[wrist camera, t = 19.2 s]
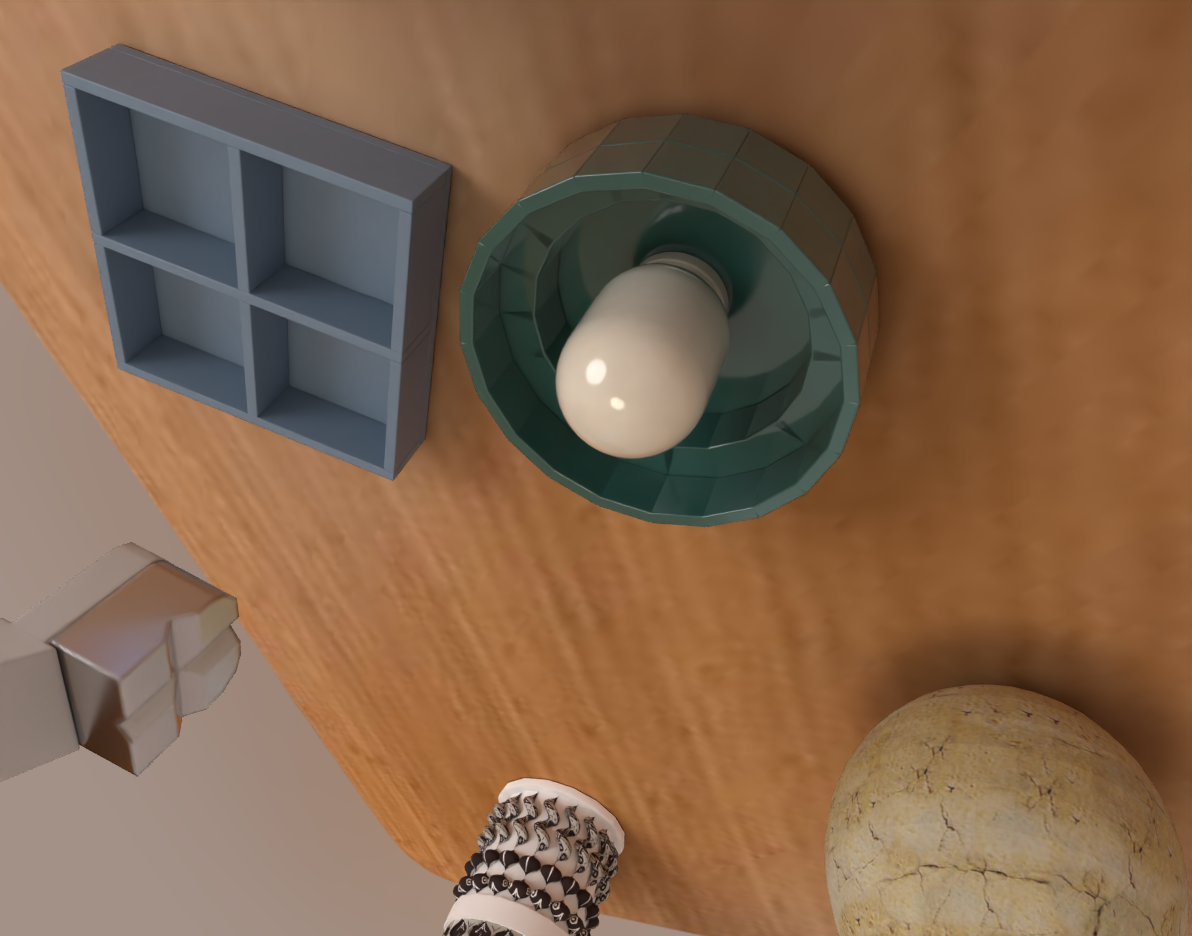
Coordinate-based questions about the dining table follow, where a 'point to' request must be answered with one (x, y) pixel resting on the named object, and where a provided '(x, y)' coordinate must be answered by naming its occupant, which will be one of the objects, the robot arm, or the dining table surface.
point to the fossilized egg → (1000, 826)
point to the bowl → (756, 314)
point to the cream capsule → (645, 357)
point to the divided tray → (262, 255)
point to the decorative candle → (538, 865)
